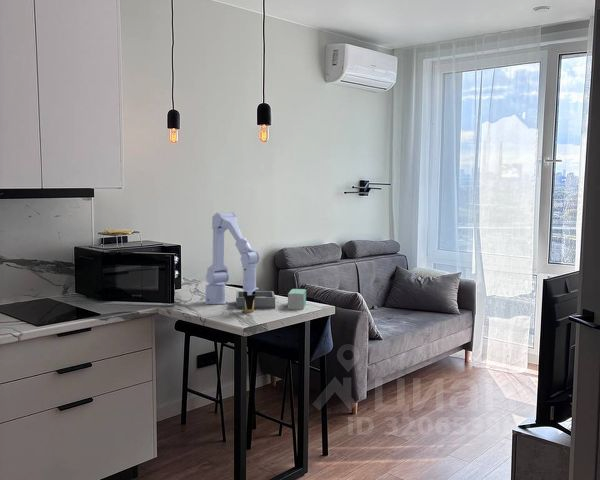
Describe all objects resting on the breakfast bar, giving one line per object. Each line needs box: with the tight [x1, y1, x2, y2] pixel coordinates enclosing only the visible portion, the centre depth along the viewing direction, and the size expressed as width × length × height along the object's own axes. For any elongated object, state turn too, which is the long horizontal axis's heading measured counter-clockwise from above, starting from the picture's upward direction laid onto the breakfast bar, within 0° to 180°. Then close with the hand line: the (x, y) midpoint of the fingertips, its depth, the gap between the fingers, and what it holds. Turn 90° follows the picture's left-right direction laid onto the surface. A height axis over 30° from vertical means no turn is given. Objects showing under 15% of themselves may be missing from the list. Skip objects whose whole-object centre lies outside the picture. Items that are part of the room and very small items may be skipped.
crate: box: [235, 290, 276, 309], centre depth 288 cm, size 18×16×5 cm
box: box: [287, 288, 307, 311], centre depth 286 cm, size 7×14×8 cm, turn 174°
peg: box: [244, 301, 255, 314], centre depth 272 cm, size 4×4×6 cm
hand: (249, 308), depth 272 cm, fingers closed on peg, 4 cm apart
